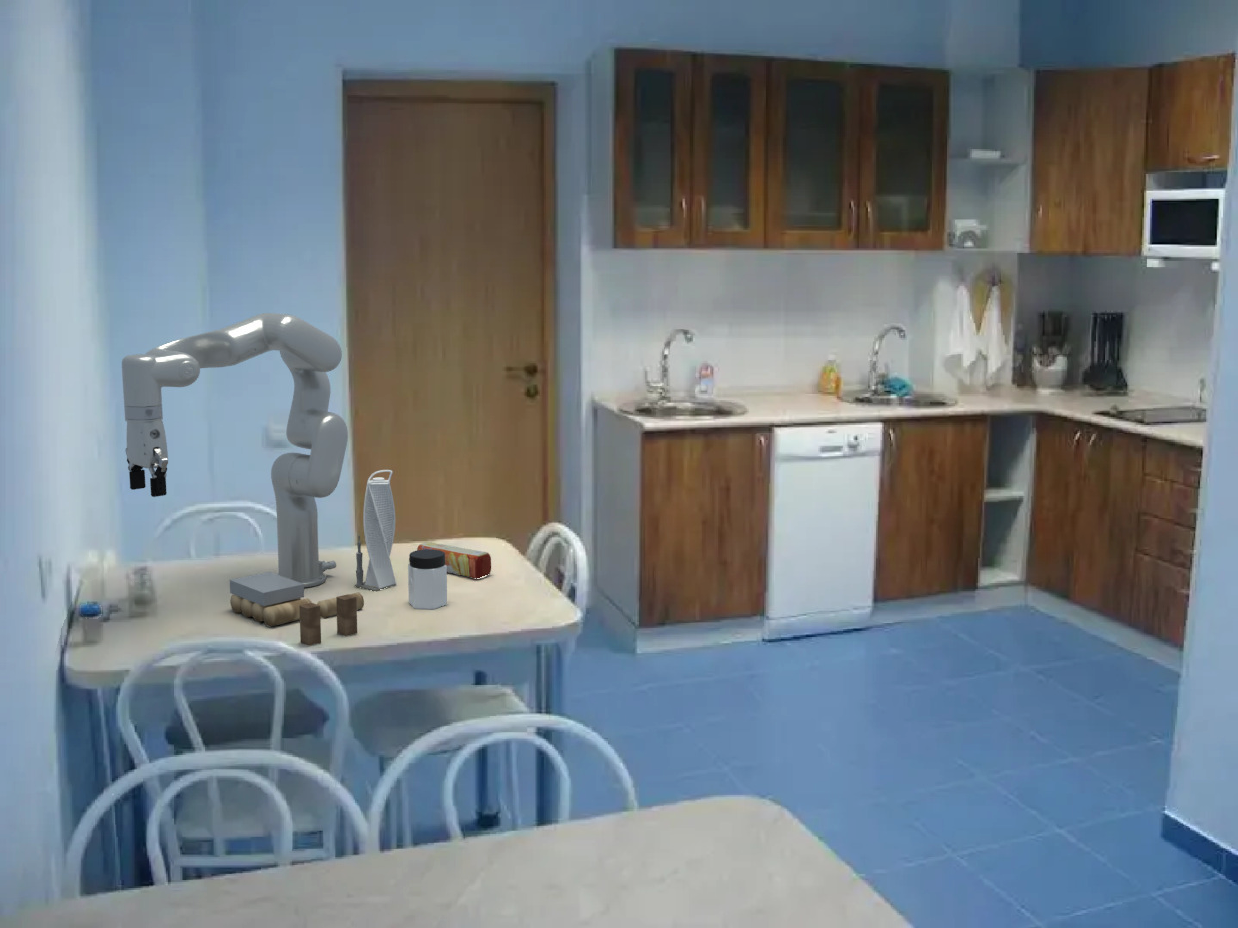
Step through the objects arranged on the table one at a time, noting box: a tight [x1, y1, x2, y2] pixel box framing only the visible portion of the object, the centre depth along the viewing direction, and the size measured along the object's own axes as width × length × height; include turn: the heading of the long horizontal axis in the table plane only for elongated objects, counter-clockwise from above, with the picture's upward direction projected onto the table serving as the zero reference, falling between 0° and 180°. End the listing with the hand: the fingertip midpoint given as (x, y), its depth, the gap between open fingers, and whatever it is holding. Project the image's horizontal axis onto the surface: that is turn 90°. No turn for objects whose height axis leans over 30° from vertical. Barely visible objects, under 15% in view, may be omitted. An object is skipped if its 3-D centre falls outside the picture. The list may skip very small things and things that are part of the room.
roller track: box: [229, 594, 313, 628], centre depth 280 cm, size 10×18×4 cm, turn 47°
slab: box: [229, 571, 305, 606], centre depth 281 cm, size 10×14×3 cm
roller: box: [316, 592, 365, 619], centre depth 283 cm, size 10×4×4 cm, turn 137°
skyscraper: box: [354, 469, 397, 592], centre depth 302 cm, size 8×8×28 cm
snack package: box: [416, 541, 492, 580], centre depth 318 cm, size 21×7×7 cm, turn 53°
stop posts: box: [299, 593, 358, 647], centre depth 265 cm, size 12×3×8 cm, turn 137°
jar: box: [407, 549, 448, 610], centre depth 290 cm, size 9×8×12 cm
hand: (148, 492), depth 271 cm, fingers open, 9 cm apart
